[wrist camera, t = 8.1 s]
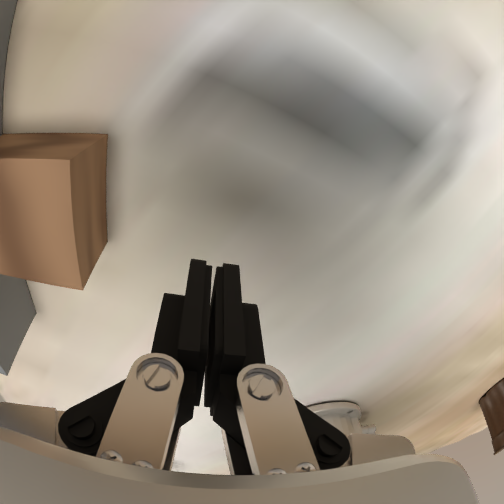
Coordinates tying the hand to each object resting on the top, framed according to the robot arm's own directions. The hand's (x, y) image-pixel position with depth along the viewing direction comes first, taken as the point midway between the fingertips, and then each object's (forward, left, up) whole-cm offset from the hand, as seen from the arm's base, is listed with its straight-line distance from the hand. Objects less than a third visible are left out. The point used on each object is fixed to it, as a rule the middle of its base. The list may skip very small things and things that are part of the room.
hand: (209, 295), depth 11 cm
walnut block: (+10, 0, -8) cm, 13 cm away
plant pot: (-71, +33, -8) cm, 79 cm away
